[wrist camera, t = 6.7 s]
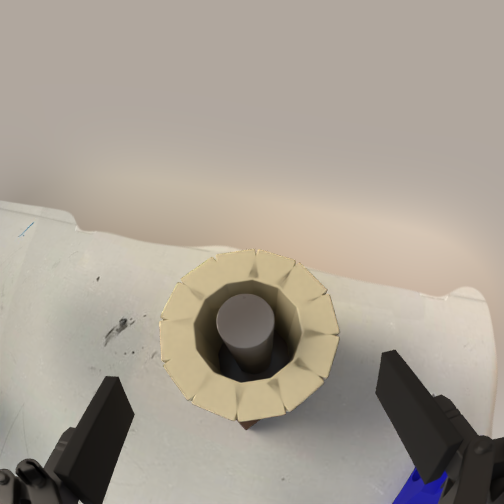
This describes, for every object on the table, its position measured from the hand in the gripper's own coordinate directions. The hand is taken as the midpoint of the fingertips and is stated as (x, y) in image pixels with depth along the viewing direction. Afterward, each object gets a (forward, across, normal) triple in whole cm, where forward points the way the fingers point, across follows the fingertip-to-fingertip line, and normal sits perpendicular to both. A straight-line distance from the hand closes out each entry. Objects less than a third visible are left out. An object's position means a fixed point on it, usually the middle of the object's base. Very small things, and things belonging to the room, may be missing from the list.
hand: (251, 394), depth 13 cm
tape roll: (+8, 0, -3) cm, 8 cm away
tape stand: (+9, 0, -4) cm, 10 cm away
